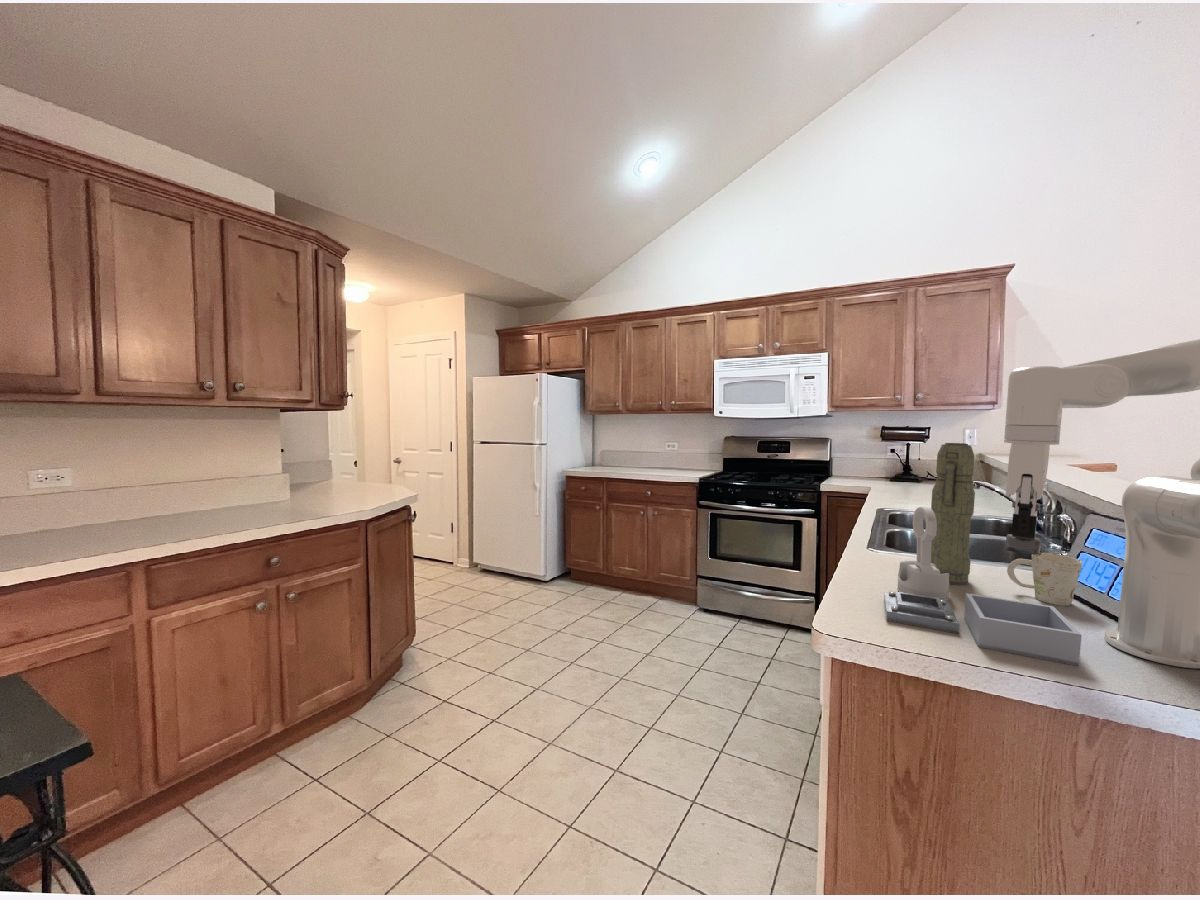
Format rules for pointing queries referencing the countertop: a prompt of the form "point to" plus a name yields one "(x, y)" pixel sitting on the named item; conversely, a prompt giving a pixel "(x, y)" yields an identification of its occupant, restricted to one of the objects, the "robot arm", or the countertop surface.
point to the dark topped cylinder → (1023, 540)
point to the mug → (1050, 577)
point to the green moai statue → (953, 511)
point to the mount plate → (920, 611)
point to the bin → (1022, 629)
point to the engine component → (923, 562)
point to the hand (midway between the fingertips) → (1023, 533)
